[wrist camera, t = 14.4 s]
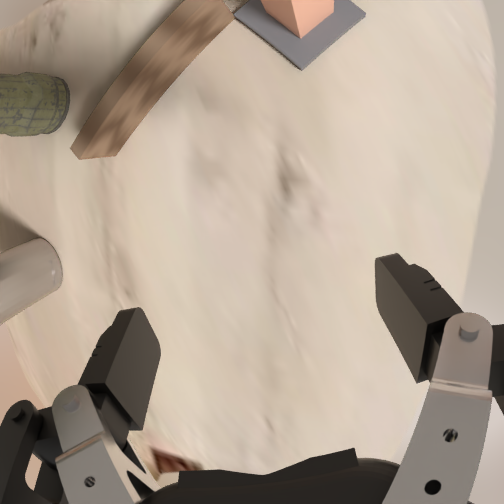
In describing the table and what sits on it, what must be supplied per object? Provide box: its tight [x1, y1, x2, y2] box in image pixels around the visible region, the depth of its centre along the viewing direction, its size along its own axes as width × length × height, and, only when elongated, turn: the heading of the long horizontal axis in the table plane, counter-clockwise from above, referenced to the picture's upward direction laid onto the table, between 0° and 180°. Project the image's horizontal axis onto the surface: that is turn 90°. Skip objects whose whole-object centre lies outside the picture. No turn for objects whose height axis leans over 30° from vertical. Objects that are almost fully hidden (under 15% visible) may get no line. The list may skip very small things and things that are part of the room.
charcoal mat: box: [233, 0, 366, 71], centre depth 27 cm, size 10×10×1 cm
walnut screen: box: [70, 0, 235, 160], centre depth 29 cm, size 22×2×7 cm, turn 135°
